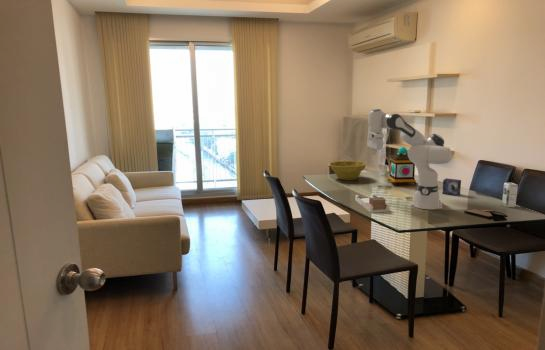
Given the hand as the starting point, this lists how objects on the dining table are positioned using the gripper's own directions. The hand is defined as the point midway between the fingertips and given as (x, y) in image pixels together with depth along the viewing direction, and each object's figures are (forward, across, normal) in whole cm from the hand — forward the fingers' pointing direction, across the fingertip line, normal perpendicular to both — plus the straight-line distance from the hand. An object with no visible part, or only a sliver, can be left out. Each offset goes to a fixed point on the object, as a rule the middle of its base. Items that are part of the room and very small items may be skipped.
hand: (374, 154), depth 261 cm
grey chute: (+31, +13, -6) cm, 34 cm away
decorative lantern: (+31, -44, +40) cm, 67 cm away
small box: (+31, -5, +59) cm, 67 cm away
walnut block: (+30, +23, -6) cm, 38 cm away
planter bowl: (+31, -73, +4) cm, 79 cm away
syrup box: (+31, +30, +77) cm, 88 cm away
